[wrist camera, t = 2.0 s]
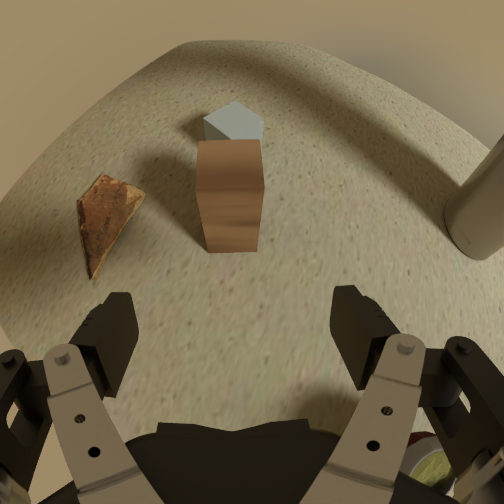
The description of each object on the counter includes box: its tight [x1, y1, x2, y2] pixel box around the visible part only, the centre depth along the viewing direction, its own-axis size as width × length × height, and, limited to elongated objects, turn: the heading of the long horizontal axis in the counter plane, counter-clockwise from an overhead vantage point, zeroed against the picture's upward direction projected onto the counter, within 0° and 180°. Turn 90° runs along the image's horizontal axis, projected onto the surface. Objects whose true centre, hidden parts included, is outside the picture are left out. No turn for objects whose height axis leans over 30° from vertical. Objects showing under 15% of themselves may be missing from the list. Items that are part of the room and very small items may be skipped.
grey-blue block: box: [203, 101, 264, 148], centre depth 31 cm, size 4×4×5 cm
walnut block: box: [195, 139, 264, 253], centre depth 25 cm, size 4×4×10 cm
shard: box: [77, 174, 146, 280], centre depth 29 cm, size 11×8×2 cm
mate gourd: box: [399, 431, 457, 495], centre depth 13 cm, size 8×8×15 cm
